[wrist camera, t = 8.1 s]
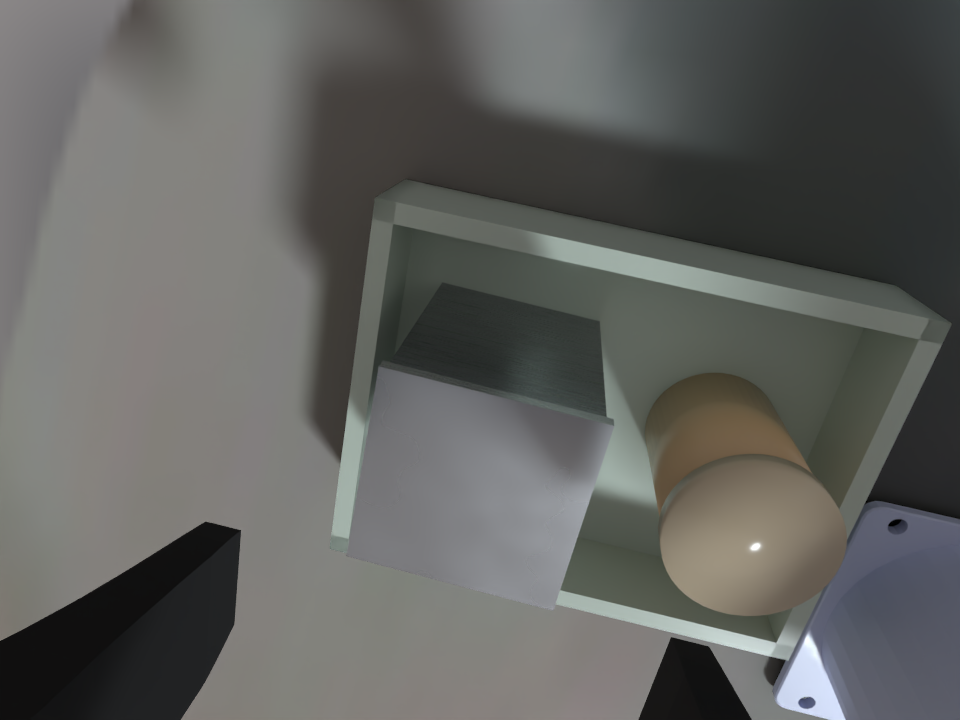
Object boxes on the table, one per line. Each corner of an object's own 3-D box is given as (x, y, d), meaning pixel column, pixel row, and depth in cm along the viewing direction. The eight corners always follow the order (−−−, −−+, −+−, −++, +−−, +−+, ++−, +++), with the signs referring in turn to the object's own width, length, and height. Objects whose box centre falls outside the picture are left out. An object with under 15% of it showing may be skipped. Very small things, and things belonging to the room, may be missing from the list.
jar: (802, 386, 19) (876, 492, 14) (754, 502, 21) (807, 632, 16) (662, 355, 19) (691, 450, 15) (625, 472, 21) (639, 593, 16)
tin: (604, 318, 19) (613, 426, 13) (561, 461, 21) (553, 610, 15) (439, 278, 19) (378, 366, 14) (410, 423, 21) (346, 556, 15)
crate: (895, 285, 18) (952, 323, 15) (762, 587, 22) (788, 660, 19) (405, 179, 19) (374, 197, 16) (359, 491, 23) (329, 548, 20)
